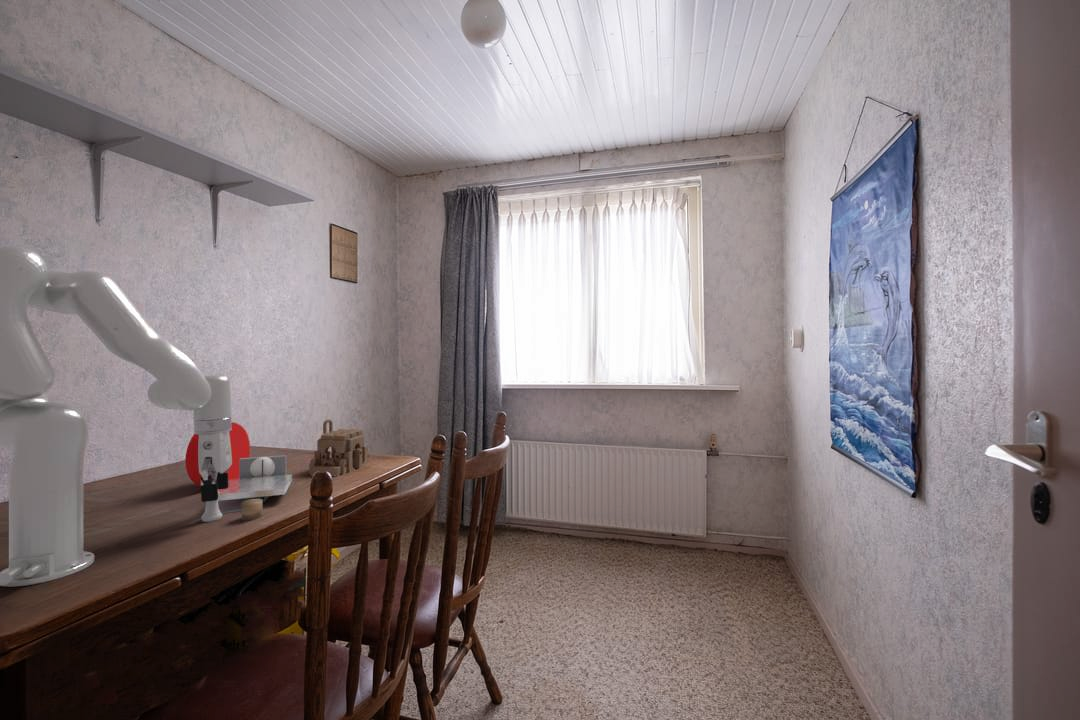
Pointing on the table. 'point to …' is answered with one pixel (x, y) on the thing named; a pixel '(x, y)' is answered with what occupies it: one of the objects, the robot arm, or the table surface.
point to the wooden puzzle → (339, 451)
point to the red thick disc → (238, 450)
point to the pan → (255, 487)
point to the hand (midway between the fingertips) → (215, 494)
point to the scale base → (254, 476)
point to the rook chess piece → (211, 511)
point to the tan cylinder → (251, 509)
